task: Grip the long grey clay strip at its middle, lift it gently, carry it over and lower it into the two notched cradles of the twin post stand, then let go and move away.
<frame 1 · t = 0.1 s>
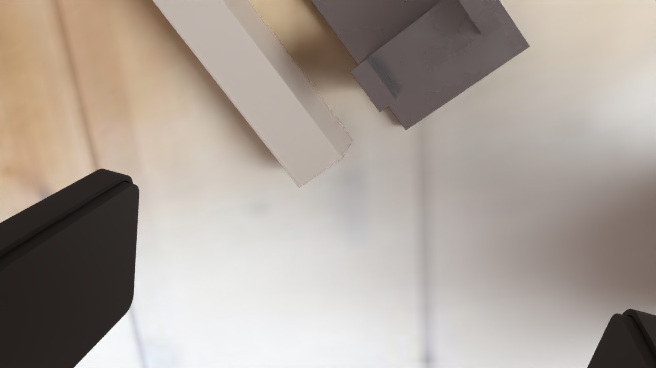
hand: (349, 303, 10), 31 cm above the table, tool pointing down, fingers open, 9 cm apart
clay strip: (247, 38, 41), on the table
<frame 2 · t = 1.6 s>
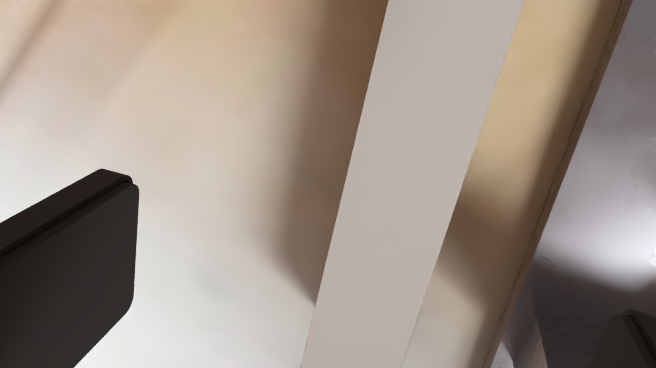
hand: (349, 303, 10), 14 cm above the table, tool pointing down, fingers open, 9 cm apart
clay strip: (419, 120, 23), on the table
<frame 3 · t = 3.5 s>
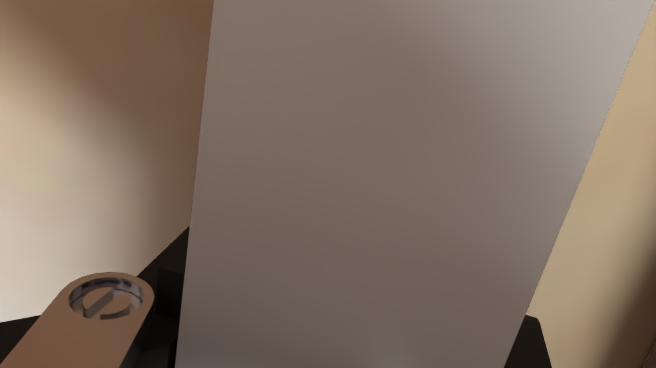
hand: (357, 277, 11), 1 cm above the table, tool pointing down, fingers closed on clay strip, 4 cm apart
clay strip: (361, 263, 12), on the table, touching gripper
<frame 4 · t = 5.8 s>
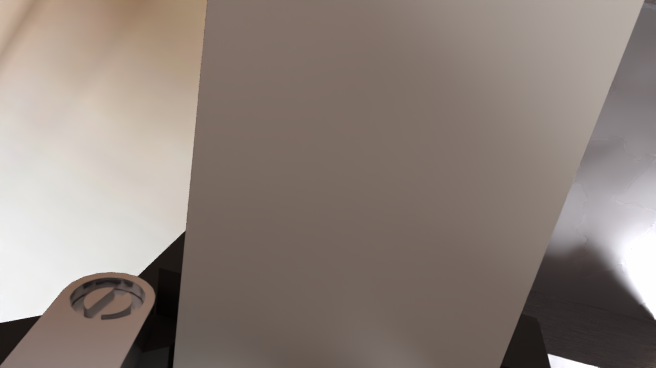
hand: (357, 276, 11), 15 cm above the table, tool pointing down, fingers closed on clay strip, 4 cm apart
twin post stand: (611, 164, 24), on the table
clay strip: (360, 264, 12), point 14 cm above the table, touching gripper
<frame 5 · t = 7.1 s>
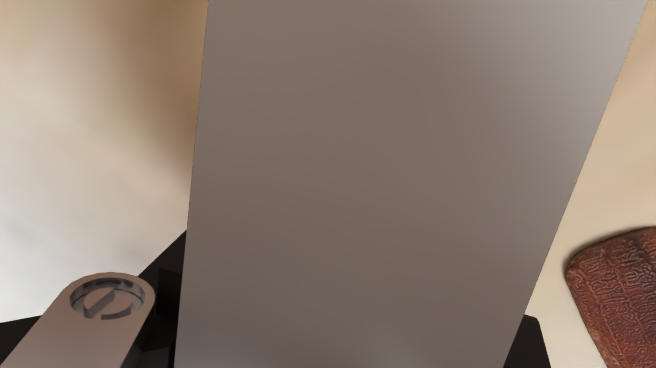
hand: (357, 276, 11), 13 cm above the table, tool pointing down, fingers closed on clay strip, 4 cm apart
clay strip: (361, 265, 12), point 12 cm above the table, touching gripper
when the fingers open (8 cm above the table, at t = 8.2 s): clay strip drops 1 cm, resting on twin post stand.
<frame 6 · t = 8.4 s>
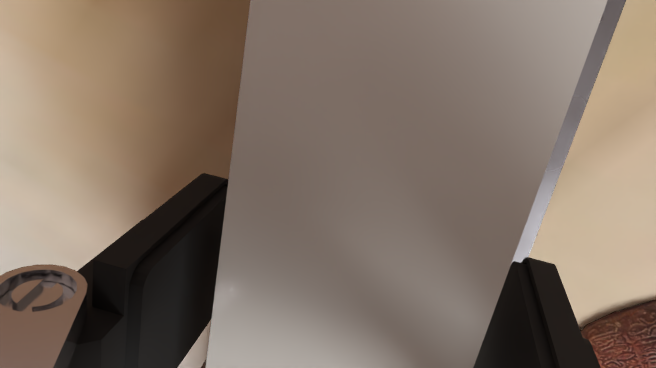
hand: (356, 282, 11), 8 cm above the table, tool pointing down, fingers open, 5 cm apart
twin post stand: (392, 162, 19), on the table
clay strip: (370, 239, 13), point 6 cm above the table, touching twin post stand
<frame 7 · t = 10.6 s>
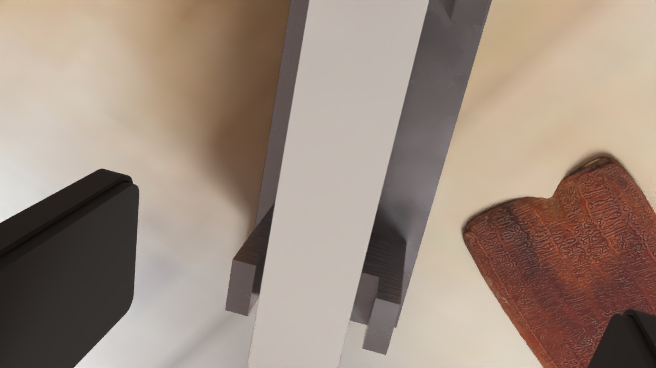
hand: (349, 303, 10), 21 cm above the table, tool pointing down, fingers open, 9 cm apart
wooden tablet: (630, 354, 34), on the table
twin post stand: (363, 115, 31), on the table
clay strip: (349, 144, 25), point 6 cm above the table, touching twin post stand
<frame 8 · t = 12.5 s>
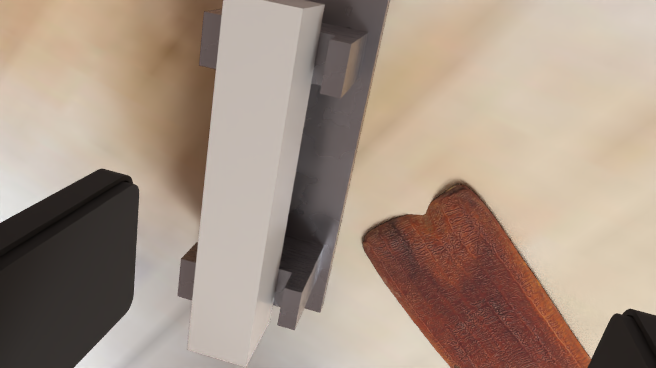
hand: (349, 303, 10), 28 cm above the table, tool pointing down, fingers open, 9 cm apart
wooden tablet: (501, 336, 43), on the table
twin post stand: (288, 148, 40), on the table
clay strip: (264, 174, 35), point 6 cm above the table, touching twin post stand
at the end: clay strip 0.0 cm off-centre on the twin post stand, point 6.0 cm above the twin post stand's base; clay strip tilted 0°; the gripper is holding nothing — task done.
